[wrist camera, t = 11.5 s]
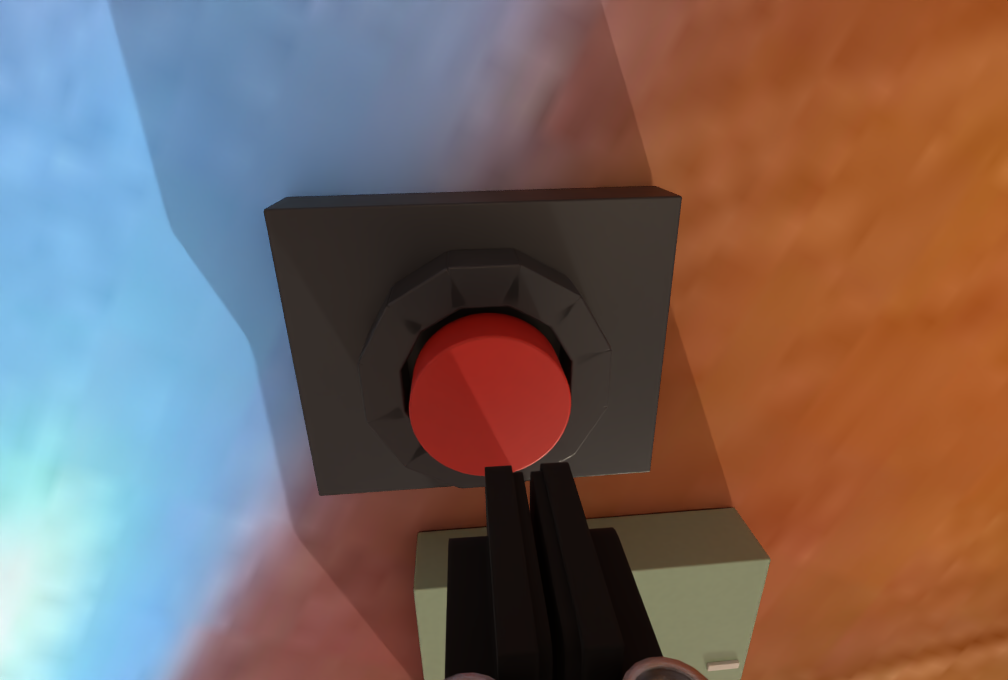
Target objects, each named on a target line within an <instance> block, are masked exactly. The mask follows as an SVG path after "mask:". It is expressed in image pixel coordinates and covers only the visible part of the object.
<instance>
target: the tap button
mask: <svg viewBox="0 0 1008 680" xmlns="http://www.w3.org/2000/svg"><path fill="white" fill-rule="evenodd" d="M570 411H571V393H570V388H569V384H568V381H567V379H566V376H565V374H564V371H563V369H562V367H561V364H560V362H559V360H558V357H557V355H556V352H555V351H554V349H553V347H552V345H551V344H550V342H549V341H548V339H547V338H546V337H545V336H544V335H543V334H542V333H541V332H540V331H539V330H538V329H536V328H535V327H534V326H533V325H531V324H529V323H527V322H526V321H524V320H521V319H519V318H517V317H514V316H510V315H506V314H500V313H478V314H472V315H468V316H464V317H462V318H459V319H456V320H454V321H452V322H450V323H448V324H446V325H445V326H443V327H442V328H441V329H439V330H438V331H437V332H436V333H435V334H433V335H432V336H431V337H430V339H429V340H428V341H427V342H426V343H425V345H424V346H423V348H422V349H421V351H420V353H419V355H418V357H417V360H416V363H415V366H414V371H413V378H412V385H411V393H410V400H409V417H410V422H411V426H412V429H413V432H414V434H415V436H416V438H417V439H418V441H419V442H420V444H421V445H422V447H423V448H424V449H425V450H426V451H427V452H428V453H429V454H430V456H432V457H433V458H434V459H435V460H437V461H438V462H440V463H441V464H443V465H445V466H446V467H448V468H451V469H453V470H455V471H458V472H461V473H465V474H470V475H477V476H485V467H491V466H507V465H511V466H512V471H513V472H515V471H518V470H521V469H523V468H526V467H528V466H530V465H532V464H533V463H535V462H536V461H538V460H540V459H541V458H542V457H543V456H545V455H546V454H547V453H548V452H549V451H550V450H551V449H552V448H553V447H554V446H555V444H556V443H557V442H558V441H559V439H560V437H561V436H562V434H563V432H564V430H565V428H566V425H567V423H568V420H569V416H570Z"/></svg>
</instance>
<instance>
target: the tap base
mask: <svg viewBox="0 0 1008 680" xmlns="http://www.w3.org/2000/svg"><path fill="white" fill-rule="evenodd" d="M586 521H587V524H588V527H589V529H594V528H609V527H613V528H614V529H615V530H616V532H617V534H618V536H619V539H620V541H621V544H622V547H623V550H624V552H625V555H626V558H627V560H628V563H629V566H630V568H631V571H632V574H633V576H634V579H635V582H636V585H637V587H638V590H639V593H640V595H641V598H642V601H643V603H644V606H645V609H646V611H647V614H648V617H649V620H650V622H651V625H652V628H653V630H654V633H655V636H656V638H657V641H658V644H659V646H660V649H661V652H662V655H663V657H668V658H672V659H677V660H680V661H682V662H684V663H686V664H688V665H690V666H692V667H694V668H695V669H696V670H698V671H699V672H700V673H701V674H702V675H704V676H705V677H706V678H707V679H708V680H741V676H742V672H743V668H744V664H745V660H746V656H747V652H748V648H749V644H750V640H751V636H752V632H753V628H754V624H755V620H756V616H757V612H758V608H759V604H760V600H761V596H762V592H763V588H764V584H765V580H766V576H767V572H768V568H769V564H770V557H769V556H768V555H767V553H766V552H765V550H764V549H763V547H762V546H761V545H760V543H759V542H758V540H757V539H756V538H755V536H754V535H753V533H752V532H751V530H750V529H749V528H748V526H747V525H746V523H745V522H744V520H743V519H742V518H741V516H740V515H739V513H738V512H737V511H736V509H735V508H722V509H709V510H696V511H684V512H671V513H658V514H646V515H633V516H621V517H608V518H595V519H586ZM477 536H487V527H481V528H469V529H456V530H443V531H431V532H419V533H418V535H417V548H416V561H415V574H414V587H413V592H414V601H415V609H416V618H417V626H418V635H419V643H420V652H421V661H422V669H423V678H424V680H443V679H445V645H446V608H447V571H448V541H449V538H463V537H477Z"/></svg>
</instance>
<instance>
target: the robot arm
mask: <svg viewBox="0 0 1008 680" xmlns="http://www.w3.org/2000/svg"><path fill="white" fill-rule="evenodd" d="M485 493H486V519H487V536H477V537H463V538H449V541H448V571H447V608H446V645H445V679H443V680H708V679H707V678H706V677H705V676H704V675H702V674H701V673H700V672H699V671H698V670H696V669H695V668H694V667H692V666H690V665H688V664H686V663H684V662H682V661H680V660H677V659H672V658H668V657H663V655H662V652H661V649H660V646H659V644H658V641H657V638H656V636H655V633H654V630H653V628H652V625H651V622H650V620H649V617H648V614H647V611H646V609H645V606H644V603H643V601H642V598H641V595H640V593H639V590H638V587H637V585H636V582H635V579H634V576H633V574H632V571H631V568H630V566H629V563H628V560H627V558H626V555H625V552H624V550H623V547H622V544H621V541H620V539H619V536H618V534H617V532H616V530H615V529H614V528H613V527H609V528H594V529H589V527H588V524H587V521H586V518H585V514H584V511H583V508H582V505H581V501H580V498H579V495H578V492H577V488H576V485H575V482H574V479H573V475H572V472H571V469H570V466H569V463H568V462H557V463H541V464H540V471H531V473H530V511H529V505H528V500H527V494H526V488H525V482H524V476H523V472H514V473H513V471H512V466H511V465H507V466H491V467H485Z"/></svg>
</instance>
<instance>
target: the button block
mask: <svg viewBox="0 0 1008 680" xmlns="http://www.w3.org/2000/svg"><path fill="white" fill-rule="evenodd" d="M681 200H682V197H681V196H679V195H677V194H674V193H672V192H669V191H667V190H664V189H662V188H659V187H657V186H637V187H604V188H570V189H537V190H504V191H471V192H438V193H405V194H372V195H338V196H305V197H286V198H284V199H282V200H280V201H278V202H277V203H275V204H273V205H271V206H270V207H268V208H266V209H264V216H265V221H266V226H267V231H268V236H269V241H270V246H271V251H272V256H273V261H274V267H275V272H276V277H277V282H278V287H279V292H280V297H281V302H282V307H283V312H284V318H285V323H286V328H287V333H288V338H289V343H290V348H291V353H292V358H293V363H294V369H295V374H296V379H297V384H298V389H299V394H300V399H301V404H302V409H303V415H304V420H305V425H306V430H307V435H308V440H309V445H310V450H311V455H312V460H313V466H314V471H315V476H316V481H317V486H318V491H319V495H320V496H325V495H338V494H352V493H366V492H380V491H393V490H407V489H421V488H435V487H448V486H456V487H458V488H473V487H485V476H477V475H470V474H465V473H461V472H458V471H455V470H453V469H451V468H448V467H446V466H445V465H443V464H441V463H440V462H438V461H437V460H435V459H434V458H433V457H432V456H430V454H429V453H428V452H427V451H426V450H425V449H424V448H423V447H422V445H421V444H420V442H419V441H418V439H417V438H416V436H415V434H414V432H413V429H412V426H411V422H410V417H409V400H410V393H411V385H412V378H413V371H414V366H415V363H416V360H417V357H418V355H419V353H420V351H421V349H422V348H423V346H424V345H425V343H426V342H427V341H428V340H429V339H430V337H431V336H432V335H433V334H435V333H436V332H437V331H438V330H439V329H441V328H442V327H443V326H445V325H446V324H448V323H450V322H452V321H454V320H456V319H459V318H462V317H464V316H468V315H472V314H478V313H500V314H506V315H510V316H514V317H517V318H519V319H521V320H524V321H526V322H527V323H529V324H531V325H533V326H534V327H535V328H536V329H538V330H539V331H540V332H541V333H542V334H543V335H544V336H545V337H546V338H547V339H548V341H549V342H550V344H551V345H552V347H553V349H554V351H555V352H556V355H557V357H558V360H559V362H560V364H561V367H562V369H563V371H564V374H565V376H566V379H567V381H568V384H569V388H570V393H571V411H570V416H569V420H568V423H567V425H566V428H565V430H564V432H563V434H562V436H561V437H560V439H559V441H558V442H557V443H556V444H555V446H554V447H553V448H552V449H551V450H550V451H549V452H548V453H547V454H546V455H545V456H543V457H542V458H541V459H540V460H538V461H536V462H535V463H533V464H532V465H530V466H528V467H526V468H523V469H521V470H518V471H515V472H523V476H524V482H525V481H530V473H531V471H540V464H541V463H557V462H568V463H569V466H570V469H571V472H572V475H573V477H586V476H600V475H613V474H627V473H641V472H650V467H651V458H652V450H653V441H654V432H655V424H656V415H657V407H658V398H659V389H660V381H661V372H662V364H663V355H664V346H665V338H666V329H667V321H668V312H669V303H670V295H671V286H672V278H673V269H674V260H675V252H676V243H677V235H678V226H679V217H680V209H681ZM513 473H514V472H513Z"/></svg>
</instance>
